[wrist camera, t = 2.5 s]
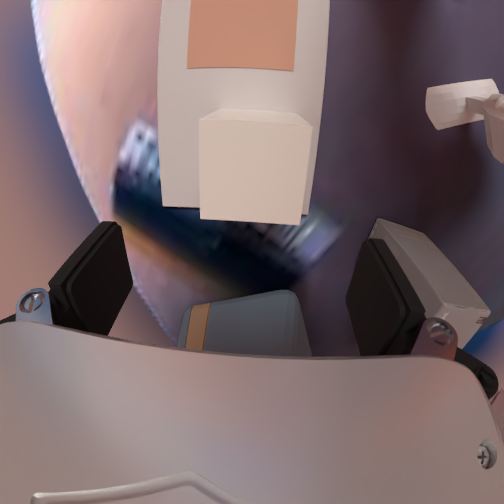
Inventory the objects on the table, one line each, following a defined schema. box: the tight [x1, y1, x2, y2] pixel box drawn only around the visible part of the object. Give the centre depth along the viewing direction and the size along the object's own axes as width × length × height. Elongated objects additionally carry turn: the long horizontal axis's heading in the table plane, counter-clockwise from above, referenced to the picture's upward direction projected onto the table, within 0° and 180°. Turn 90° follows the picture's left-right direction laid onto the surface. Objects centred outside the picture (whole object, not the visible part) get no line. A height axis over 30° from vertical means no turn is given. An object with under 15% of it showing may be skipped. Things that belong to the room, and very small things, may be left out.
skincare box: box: [358, 218, 490, 349], centre depth 26 cm, size 8×7×16 cm
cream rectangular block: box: [199, 109, 313, 225], centre depth 22 cm, size 7×7×9 cm
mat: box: [158, 0, 330, 215], centre depth 23 cm, size 16×26×1 cm, turn 177°
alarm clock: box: [176, 290, 312, 357], centre depth 35 cm, size 16×16×16 cm
